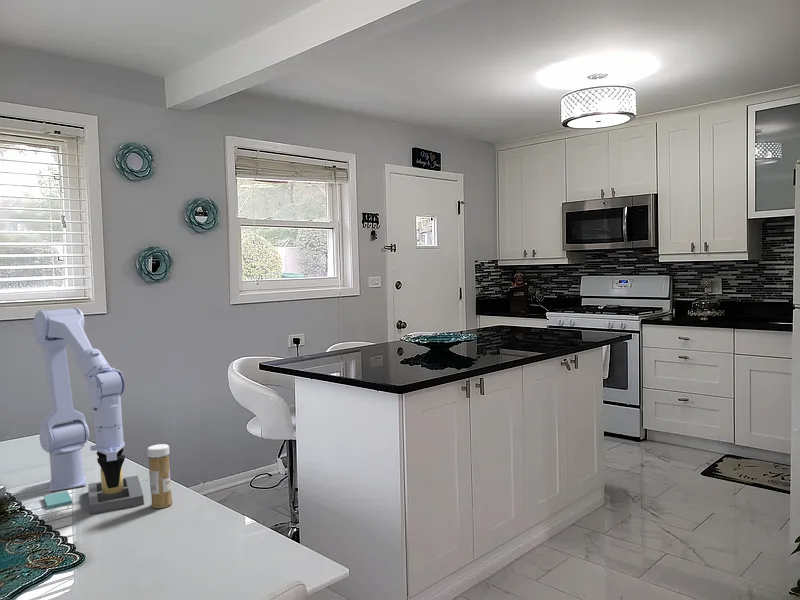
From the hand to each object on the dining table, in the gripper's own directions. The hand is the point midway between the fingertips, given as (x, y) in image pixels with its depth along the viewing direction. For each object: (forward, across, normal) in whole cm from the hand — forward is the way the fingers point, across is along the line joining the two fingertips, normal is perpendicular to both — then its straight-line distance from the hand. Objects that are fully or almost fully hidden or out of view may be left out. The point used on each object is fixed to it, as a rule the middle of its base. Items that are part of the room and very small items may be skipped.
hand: (112, 484), depth 145 cm
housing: (+4, -4, 0) cm, 6 cm away
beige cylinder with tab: (+2, 0, 0) cm, 2 cm away
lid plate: (+4, -9, -12) cm, 15 cm away
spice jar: (+5, +7, +10) cm, 13 cm away
